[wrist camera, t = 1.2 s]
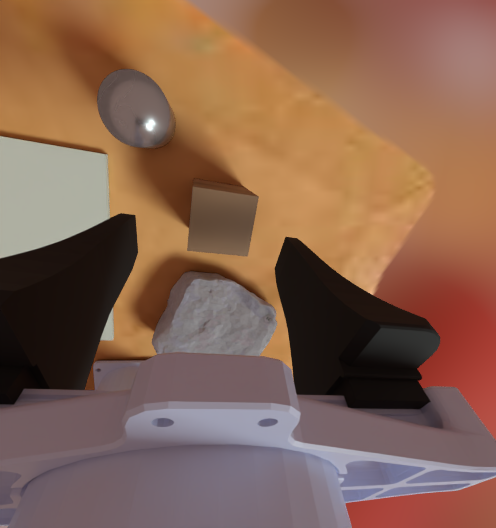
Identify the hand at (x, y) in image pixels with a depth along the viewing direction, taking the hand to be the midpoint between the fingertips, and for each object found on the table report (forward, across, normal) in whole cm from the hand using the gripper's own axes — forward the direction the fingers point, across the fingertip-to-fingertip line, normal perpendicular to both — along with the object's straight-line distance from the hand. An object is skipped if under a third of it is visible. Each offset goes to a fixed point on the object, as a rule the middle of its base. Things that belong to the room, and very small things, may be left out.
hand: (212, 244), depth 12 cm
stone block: (+9, -2, +15) cm, 17 cm away
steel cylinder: (+12, +6, -3) cm, 14 cm away
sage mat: (+9, +14, +9) cm, 18 cm away
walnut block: (+11, 0, +3) cm, 12 cm away
